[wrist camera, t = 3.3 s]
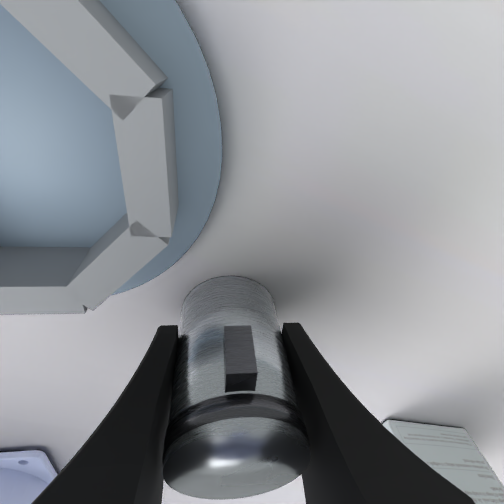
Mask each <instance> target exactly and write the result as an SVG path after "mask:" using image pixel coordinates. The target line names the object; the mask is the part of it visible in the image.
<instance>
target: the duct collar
mask: <svg viewBox="0 0 504 504" xmlns="http://www.w3.org/2000/svg"><path fill="white" fill-rule="evenodd" d="M221 163H222V134H221V122H220V116H219V110H218V103H217V97H216V93H215V90H214V86H213V83H212V79H211V76H210V72H209V69H208V66H207V63H206V61H205V59H204V56H203V54H202V51H201V49H200V46H199V44H198V41H197V39H196V37H195V35H194V33H193V31H192V29H191V27H190V26H189V24H188V22H187V20H186V18H185V16H184V15H183V13H182V11H181V9H180V7H179V5H178V4H177V3H176V1H175V0H0V315H14V314H76V313H85V312H86V310H87V308H89V309H91V310H94V309H96V308H97V307H98V306H99V305H100V304H101V303H102V302H104V301H105V300H106V299H107V298H108V297H109V296H110V295H114V294H118V293H121V292H125V291H127V290H130V289H132V288H135V287H137V286H140V285H142V284H144V283H146V282H148V281H150V280H151V279H153V278H155V277H157V276H159V275H160V274H161V273H163V272H164V271H165V270H167V269H168V268H169V267H171V266H172V265H173V264H174V263H175V262H176V261H178V260H179V259H180V258H181V257H182V256H183V255H184V254H185V253H186V252H187V250H188V249H189V248H190V247H191V245H192V244H193V243H194V241H195V240H196V239H197V238H198V236H199V234H200V232H201V231H202V229H203V227H204V225H205V223H206V222H207V220H208V217H209V215H210V212H211V210H212V207H213V204H214V202H215V198H216V194H217V190H218V186H219V181H220V174H221Z"/></svg>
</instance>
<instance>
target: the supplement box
mask: <svg viewBox="0 0 504 504" xmlns="http://www.w3.org/2000/svg"><path fill="white" fill-rule="evenodd" d="M382 425H383V426H384V427H385V428H386V429H387V430H388V431H390V432H391V433H392V434H393V435H394V436H395V437H396V438H397V439H399V440H400V441H401V442H402V443H403V444H404V445H405V446H406V447H407V448H409V449H410V450H411V451H412V452H413V453H414V454H415V455H417V456H418V457H419V458H420V459H421V460H423V461H424V462H425V463H426V464H427V465H429V466H430V467H431V468H432V469H434V470H435V471H436V472H437V473H439V474H440V475H441V476H443V477H444V478H445V479H447V480H448V481H449V482H451V483H452V484H454V485H455V486H456V487H458V488H459V489H460V490H462V491H463V492H464V493H466V494H467V495H468V496H470V497H471V498H472V499H473V501H474V502H475V504H504V486H503V485H502V483H501V482H500V480H499V479H498V477H497V476H496V474H495V473H494V471H493V470H492V468H491V467H490V465H489V464H488V462H487V461H486V459H485V458H484V456H483V455H482V454H481V452H480V451H479V449H478V448H477V446H476V445H475V443H474V442H473V440H472V439H471V437H470V436H469V434H468V433H467V431H466V430H465V429H464V428H454V427H445V426H437V425H428V424H420V423H412V422H404V421H395V420H387V421H385V422H384V423H383V424H382Z"/></svg>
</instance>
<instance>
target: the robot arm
mask: <svg viewBox="0 0 504 504" xmlns="http://www.w3.org/2000/svg"><path fill="white" fill-rule="evenodd" d="M281 335H282V339H283V343H284V347H285V351H286V355H287V359H288V363H289V367H290V372H291V376H292V380H293V384H294V388H295V392H296V396H297V400H298V404H299V408H300V412H301V414H302V415H303V418H304V422H305V426H306V430H307V434H308V438H309V442H310V447H309V449H310V453H311V459H310V463H309V465H308V467H307V468H306V469H305V471H304V472H303V473H302V479H303V485H304V492H305V498H306V504H475V502H474V501H473V499H472V498H471V497H470V496H468V495H467V494H466V493H464V492H463V491H462V490H460V489H459V488H458V487H456V486H455V485H454V484H452V483H451V482H449V481H448V480H447V479H445V478H444V477H443V476H441V475H440V474H439V473H437V472H436V471H435V470H434V469H432V468H431V467H430V466H429V465H427V464H426V463H425V462H424V461H423V460H421V459H420V458H419V457H418V456H417V455H415V454H414V453H413V452H412V451H411V450H410V449H409V448H407V447H406V446H405V445H404V444H403V443H402V442H401V441H400V440H399V439H397V438H396V437H395V436H394V435H393V434H392V433H391V432H390V431H388V430H387V429H386V428H385V427H384V426H383V425H382V424H381V423H380V422H379V421H378V420H377V419H376V418H375V417H374V416H373V415H372V414H371V413H370V412H369V411H368V410H367V409H366V408H365V407H364V406H363V405H362V404H361V402H360V401H359V400H358V399H357V398H356V397H355V396H354V395H353V394H352V392H351V391H350V390H349V389H348V388H347V387H346V385H345V384H344V383H343V382H342V381H341V380H340V378H339V377H338V376H337V375H336V373H335V372H334V371H333V369H332V368H331V367H330V366H329V364H328V363H327V362H326V360H325V359H324V358H323V356H322V355H321V354H320V352H319V351H318V349H317V348H316V347H315V345H314V344H313V342H312V341H311V339H310V338H309V336H308V335H307V333H306V332H305V330H304V329H303V327H302V326H301V324H300V323H283V329H282V334H281ZM178 339H179V338H178V325H168V326H160V327H159V328H158V329H157V332H156V334H155V336H154V338H153V341H152V343H151V345H150V347H149V349H148V351H147V352H146V354H145V356H144V358H143V360H142V361H141V363H140V365H139V367H138V368H137V370H136V372H135V373H134V375H133V377H132V378H131V380H130V382H129V383H128V385H127V386H126V388H125V389H124V391H123V392H122V394H121V395H120V397H119V398H118V400H117V401H116V403H115V404H114V406H113V407H112V408H111V410H110V411H109V413H108V414H107V415H106V417H105V418H104V419H103V421H102V422H101V423H100V425H99V426H98V427H97V429H96V430H95V431H94V432H93V434H92V435H91V436H90V437H89V439H88V440H87V441H86V442H85V444H84V445H83V446H82V447H81V449H80V450H79V451H78V452H77V453H76V455H75V456H74V457H73V458H72V459H71V460H70V462H69V463H68V464H67V465H66V466H65V467H64V468H63V469H62V471H61V472H60V473H59V474H58V475H57V473H56V471H55V469H54V468H53V466H52V464H51V463H50V461H49V459H48V457H47V456H46V454H45V453H44V452H42V451H39V450H29V451H15V452H1V453H0V504H161V502H162V491H163V480H164V478H163V463H162V456H163V448H164V440H165V433H166V429H167V427H168V422H169V414H170V405H171V397H172V389H173V380H174V372H175V364H176V356H177V347H178Z"/></svg>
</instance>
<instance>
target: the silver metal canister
mask: <svg viewBox="0 0 504 504" xmlns="http://www.w3.org/2000/svg"><path fill="white" fill-rule="evenodd" d="M309 447H310V442H309V438H308V434H307V430H306V426H305V422H304V418H303V415H302V414H301V412H300V408H299V404H298V400H297V396H296V392H295V388H294V384H293V380H292V376H291V372H290V367H289V363H288V359H287V355H286V351H285V347H284V343H283V339H282V335H281V331H280V327H279V322H278V318H277V314H276V310H275V306H274V302H273V299H272V297H271V295H270V293H269V292H268V291H267V289H266V288H265V287H263V286H262V285H261V284H259V283H257V282H256V281H253V280H251V279H248V278H244V277H239V276H223V277H217V278H213V279H210V280H208V281H205V282H203V283H201V284H200V285H198V286H197V287H195V288H194V289H193V290H192V291H191V292H190V293H189V294H188V295H187V297H186V299H185V301H184V303H183V307H182V314H181V322H180V330H179V339H178V347H177V356H176V364H175V372H174V380H173V389H172V397H171V405H170V414H169V422H168V427H167V429H166V433H165V440H164V448H163V456H162V463H163V478H164V480H165V482H166V483H167V484H168V485H169V486H170V487H171V488H173V489H174V490H176V491H178V492H180V493H182V494H185V495H188V496H192V497H197V498H204V499H236V498H244V497H250V496H254V495H259V494H262V493H266V492H269V491H272V490H275V489H277V488H279V487H282V486H284V485H286V484H288V483H290V482H291V481H293V480H294V479H296V478H297V477H298V476H300V475H301V474H302V473H303V472H304V471H305V469H306V468H307V467H308V465H309V463H310V459H311V453H310V449H309Z"/></svg>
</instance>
